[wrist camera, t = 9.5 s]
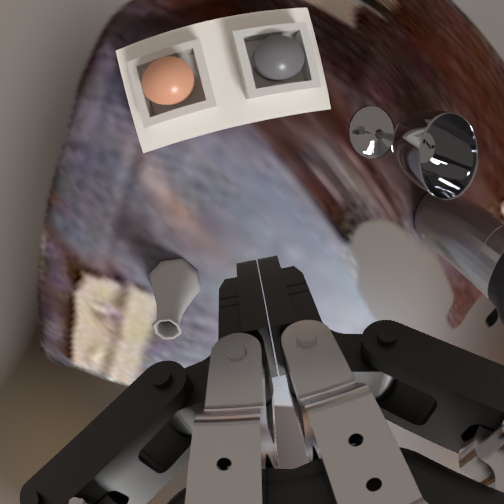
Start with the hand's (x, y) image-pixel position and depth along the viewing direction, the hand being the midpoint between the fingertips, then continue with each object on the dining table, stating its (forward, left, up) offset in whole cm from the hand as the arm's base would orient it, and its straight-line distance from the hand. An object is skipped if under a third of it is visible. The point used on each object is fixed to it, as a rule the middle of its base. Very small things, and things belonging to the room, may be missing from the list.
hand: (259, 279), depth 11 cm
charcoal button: (-6, -10, -20) cm, 24 cm away
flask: (+12, +14, -25) cm, 31 cm away
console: (-1, -10, -25) cm, 27 cm away
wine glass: (-18, 0, -25) cm, 31 cm away
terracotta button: (+4, -10, -19) cm, 22 cm away
